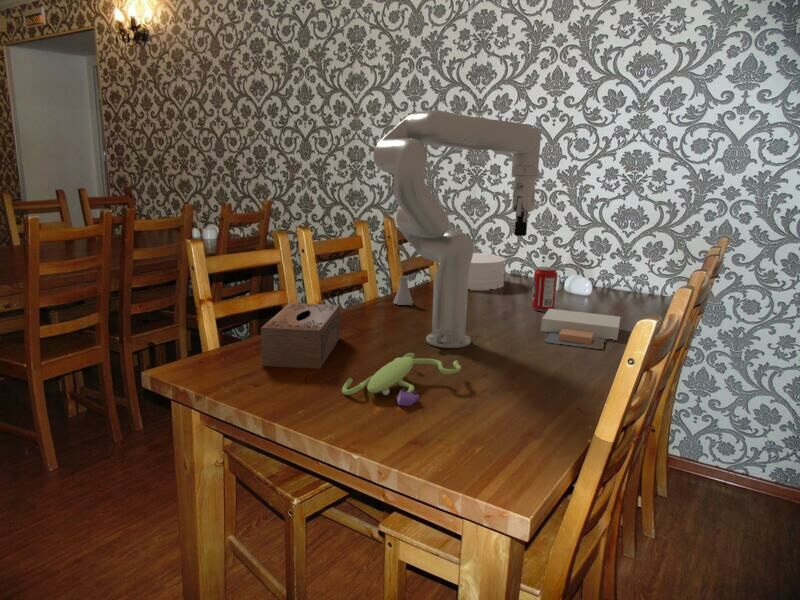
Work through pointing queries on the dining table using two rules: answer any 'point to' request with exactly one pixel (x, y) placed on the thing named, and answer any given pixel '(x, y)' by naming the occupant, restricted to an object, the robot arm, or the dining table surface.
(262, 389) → the dining table surface
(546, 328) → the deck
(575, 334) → the tile
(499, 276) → the plate stack
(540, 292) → the soda can
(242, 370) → the dining table surface
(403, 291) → the flask
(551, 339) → the mat
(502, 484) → the dining table surface
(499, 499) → the dining table surface
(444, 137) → the robot arm
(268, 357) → the tissue box cover
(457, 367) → the figurine
